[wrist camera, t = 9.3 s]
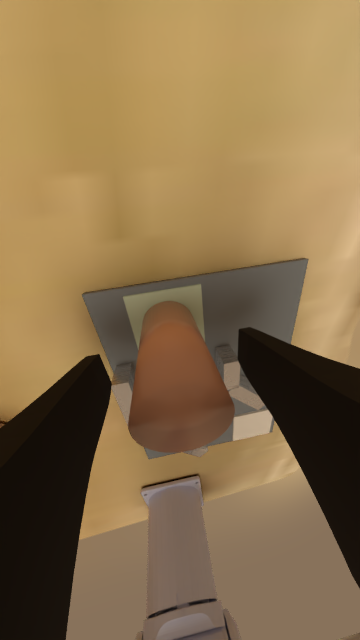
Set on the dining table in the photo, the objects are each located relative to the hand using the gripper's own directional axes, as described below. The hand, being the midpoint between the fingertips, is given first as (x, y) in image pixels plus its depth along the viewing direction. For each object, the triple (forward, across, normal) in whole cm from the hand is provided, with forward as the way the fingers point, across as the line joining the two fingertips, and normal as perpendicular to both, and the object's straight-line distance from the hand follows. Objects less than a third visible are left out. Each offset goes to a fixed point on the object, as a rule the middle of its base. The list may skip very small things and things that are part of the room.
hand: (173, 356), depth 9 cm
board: (+4, -3, +7) cm, 8 cm away
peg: (+3, 0, 0) cm, 3 cm away
